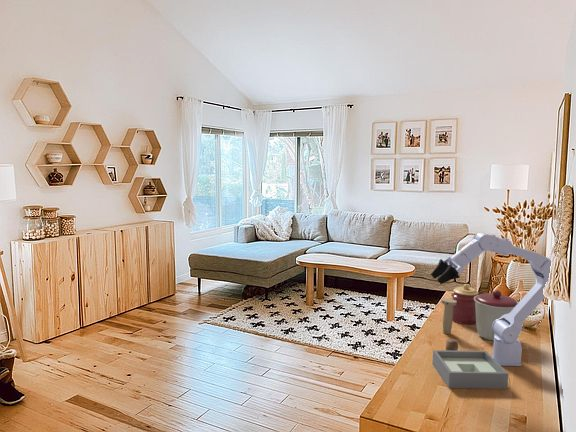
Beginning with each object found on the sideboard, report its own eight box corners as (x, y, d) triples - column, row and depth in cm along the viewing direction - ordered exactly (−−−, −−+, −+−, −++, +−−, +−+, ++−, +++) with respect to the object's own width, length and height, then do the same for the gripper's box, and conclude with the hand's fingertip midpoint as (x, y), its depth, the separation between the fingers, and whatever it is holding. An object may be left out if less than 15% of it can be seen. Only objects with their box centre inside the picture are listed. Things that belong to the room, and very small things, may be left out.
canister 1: (443, 317, 228) (446, 281, 225) (464, 313, 233) (466, 279, 230) (463, 326, 216) (466, 289, 213) (484, 322, 221) (487, 286, 218)
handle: (452, 336, 203) (454, 303, 201) (437, 332, 207) (439, 300, 205) (455, 333, 207) (458, 300, 205) (441, 329, 211) (443, 297, 209)
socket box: (485, 364, 177) (486, 350, 176) (507, 388, 159) (508, 373, 158) (432, 364, 177) (433, 350, 176) (448, 387, 159) (449, 372, 158)
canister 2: (524, 346, 194) (528, 297, 191) (480, 345, 195) (484, 296, 192) (505, 329, 212) (508, 284, 209) (465, 328, 212) (468, 284, 210)
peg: (454, 353, 187) (455, 338, 186) (458, 357, 182) (459, 343, 181) (443, 352, 187) (444, 338, 186) (447, 357, 182) (448, 343, 181)
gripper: (451, 244, 181) (423, 266, 182) (465, 252, 166) (435, 276, 167) (462, 258, 181) (434, 279, 183) (477, 267, 167) (447, 290, 168)
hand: (435, 279), depth 175 cm, fingers open, 7 cm apart
